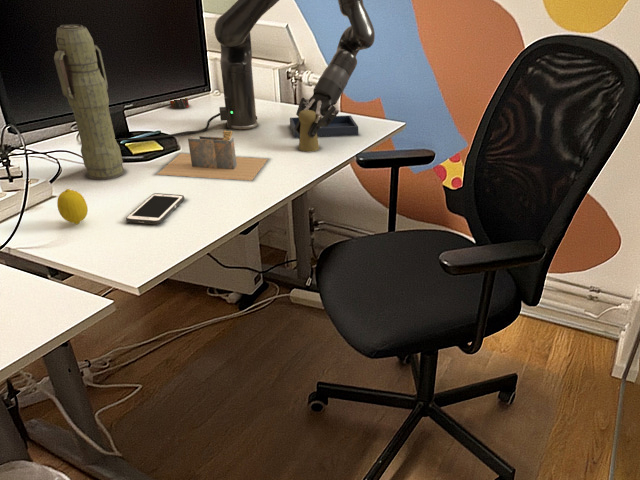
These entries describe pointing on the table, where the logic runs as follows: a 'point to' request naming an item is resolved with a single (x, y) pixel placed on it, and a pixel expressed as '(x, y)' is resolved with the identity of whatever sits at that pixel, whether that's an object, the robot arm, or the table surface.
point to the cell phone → (155, 208)
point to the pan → (332, 127)
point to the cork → (306, 122)
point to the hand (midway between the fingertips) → (303, 133)
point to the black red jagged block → (179, 104)
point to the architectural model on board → (213, 160)
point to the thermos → (88, 100)
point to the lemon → (72, 206)
